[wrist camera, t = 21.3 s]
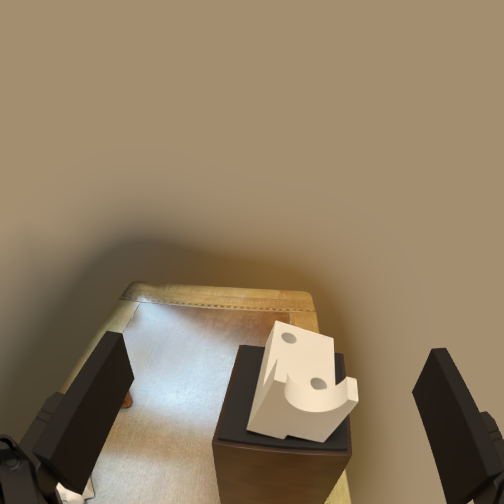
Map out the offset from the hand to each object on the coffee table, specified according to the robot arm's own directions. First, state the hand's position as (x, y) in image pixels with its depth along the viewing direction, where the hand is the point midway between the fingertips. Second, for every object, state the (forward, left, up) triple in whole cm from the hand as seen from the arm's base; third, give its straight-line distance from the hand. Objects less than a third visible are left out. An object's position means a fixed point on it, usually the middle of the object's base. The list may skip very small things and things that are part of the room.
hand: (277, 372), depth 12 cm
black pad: (-1, -14, -17) cm, 22 cm away
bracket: (-2, -14, -17) cm, 22 cm away
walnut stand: (-1, -14, -42) cm, 44 cm away
